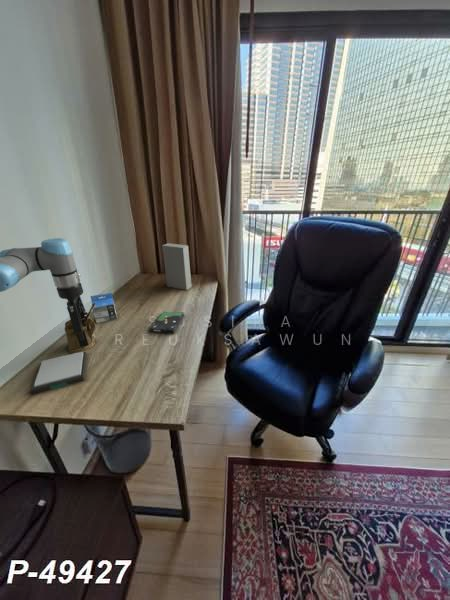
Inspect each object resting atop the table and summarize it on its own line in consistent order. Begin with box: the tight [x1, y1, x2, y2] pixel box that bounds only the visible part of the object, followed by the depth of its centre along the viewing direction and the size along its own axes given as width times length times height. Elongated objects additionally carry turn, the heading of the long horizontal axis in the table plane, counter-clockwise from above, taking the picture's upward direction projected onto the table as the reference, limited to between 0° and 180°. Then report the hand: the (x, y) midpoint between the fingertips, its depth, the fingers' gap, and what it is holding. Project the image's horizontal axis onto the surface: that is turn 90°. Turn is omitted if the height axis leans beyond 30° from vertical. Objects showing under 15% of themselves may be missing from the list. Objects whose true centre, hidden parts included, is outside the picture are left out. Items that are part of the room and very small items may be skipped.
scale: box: [30, 351, 88, 395], centre depth 83 cm, size 14×14×3 cm
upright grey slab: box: [161, 242, 193, 291], centre depth 143 cm, size 14×6×25 cm, turn 65°
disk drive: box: [150, 310, 185, 335], centre depth 110 cm, size 10×3×15 cm
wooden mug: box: [64, 303, 96, 354], centre depth 94 cm, size 9×14×18 cm, turn 104°
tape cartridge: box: [90, 292, 118, 324], centre depth 112 cm, size 9×4×12 cm, turn 112°
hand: (85, 337), depth 96 cm, fingers open, 10 cm apart
